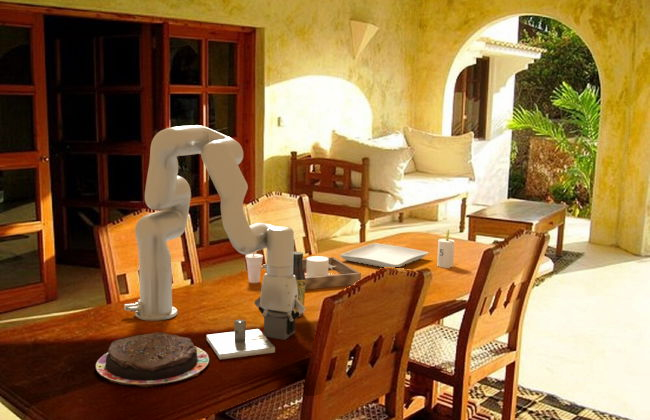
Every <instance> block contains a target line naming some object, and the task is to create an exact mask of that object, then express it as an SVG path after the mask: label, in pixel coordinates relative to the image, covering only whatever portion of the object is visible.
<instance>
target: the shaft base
mask: <svg viewBox="0 0 650 420" xmlns="http://www.w3.org/2000/svg"><path fill="white" fill-rule="evenodd" d="M233 328H234V330H233V331H228V332H220V333H212V334H206V342H207V343H208V344H209V346H210V347H211V349H212V350H213V352H214V353H215V354H216V356H217V358H218V359H219V360H226V359H234V358H235V359H236V358H243V357H248V356H249V357H250V356H256V355H265V354H273V353H276V347H275V345H274V344H273V343H272V342H271V341H270V340H269V339H268V337H265V336H264V332H262V331H261V330H260V329H259V328H255V329H247V328H246V320H245V319H236V320H234V327H233Z"/></svg>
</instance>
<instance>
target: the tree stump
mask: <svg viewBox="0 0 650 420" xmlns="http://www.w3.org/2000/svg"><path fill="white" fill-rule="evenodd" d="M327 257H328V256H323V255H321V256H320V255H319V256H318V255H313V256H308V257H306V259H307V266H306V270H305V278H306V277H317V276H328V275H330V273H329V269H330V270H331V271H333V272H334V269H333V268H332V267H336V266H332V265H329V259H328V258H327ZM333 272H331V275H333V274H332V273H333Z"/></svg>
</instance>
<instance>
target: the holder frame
mask: <svg viewBox="0 0 650 420" xmlns="http://www.w3.org/2000/svg"><path fill="white" fill-rule="evenodd" d="M326 257H327V258H328V259H329V265H332V266H336V267H332V270H334V269H335V271H336V270H337V271H336V272H338V273H339V272H340V274H331V275H328V276H317V277H306V276H305V277H306V278H305V290H313V289H322V288H323V289H325V288H333V287H334V288H335V287H336V288H337V287H345V286H353V285H352V284H354V283H355V282H357V281H358V280H360V279H361V280H362V273H361V272H359V271H358V270H356V269H355V268H352V267H351V266H349V265H348V264H345V263H344V262H342V261H340V260H339V259H337V258H336V257H333V256H326ZM306 266H307V258H302V268H303V270H304V271H306Z"/></svg>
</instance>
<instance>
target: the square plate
mask: <svg viewBox="0 0 650 420" xmlns="http://www.w3.org/2000/svg"><path fill="white" fill-rule="evenodd" d="M429 253H430V252H429V251H425V250H420V249H416V248H410V247H405V246H397V245H391V244H382V243H378V242H377V243H376V242H373V243H371V244H367V245H363V246H360V247H357V248H353V249H351V250H349V251H345V252H343V253H341V254H339V256H340V258H341V259H343V260H345V261H348V262H353V263H357V262H358V264H361V263H363V264H362V265H367V264H368V265H367V266H372V265H373V266H374V267H377V266H379V267H378V268H382V267H399V268H400V267H403V266H405V264H406V265H408V264H411V263H413V261H414V262H416V261H418V260H421V259H423V258H424V257H425V256H427V255H428V254H429ZM373 266H372V267H373Z"/></svg>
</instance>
